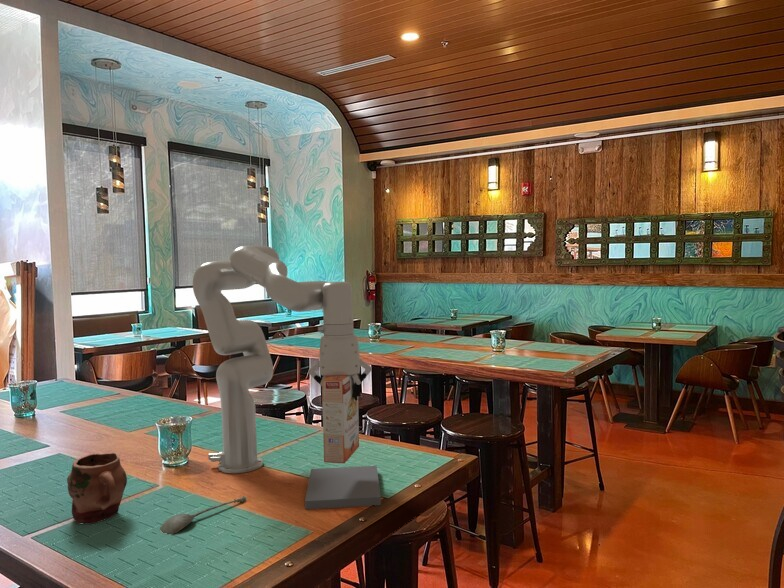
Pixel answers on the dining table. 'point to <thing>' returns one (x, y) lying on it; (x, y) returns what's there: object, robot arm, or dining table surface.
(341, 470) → the serving board
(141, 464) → the dining table surface
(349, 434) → the cracker box
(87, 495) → the decorative planter
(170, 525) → the soupspoon
